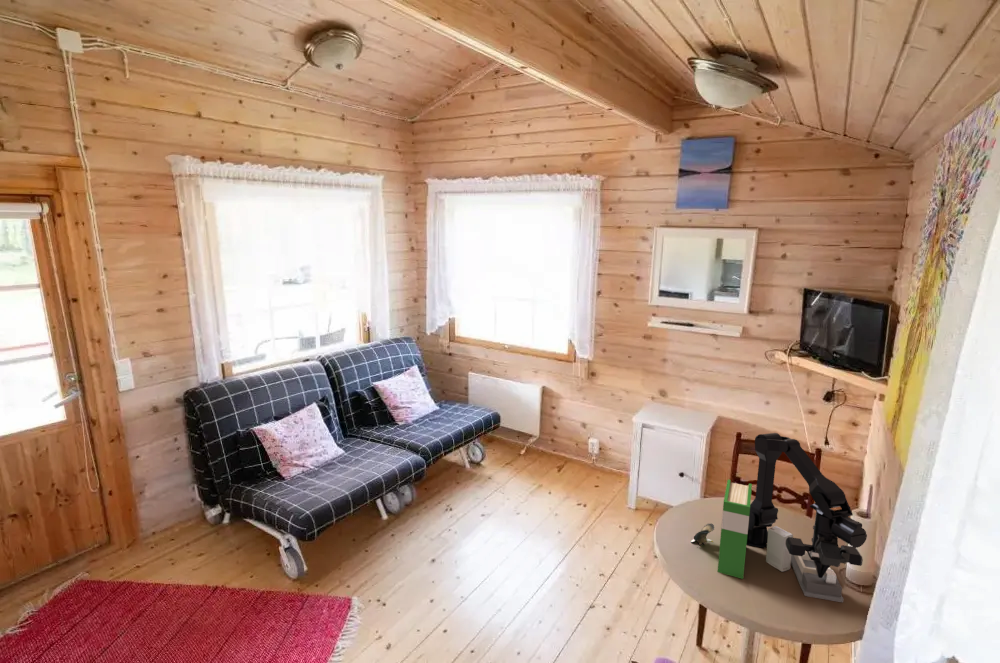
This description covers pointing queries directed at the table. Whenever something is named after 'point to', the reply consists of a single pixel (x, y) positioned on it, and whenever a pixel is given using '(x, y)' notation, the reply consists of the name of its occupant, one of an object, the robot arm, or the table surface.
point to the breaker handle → (830, 576)
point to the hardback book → (734, 529)
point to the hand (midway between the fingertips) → (819, 576)
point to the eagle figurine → (703, 535)
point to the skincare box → (778, 549)
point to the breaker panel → (799, 576)
